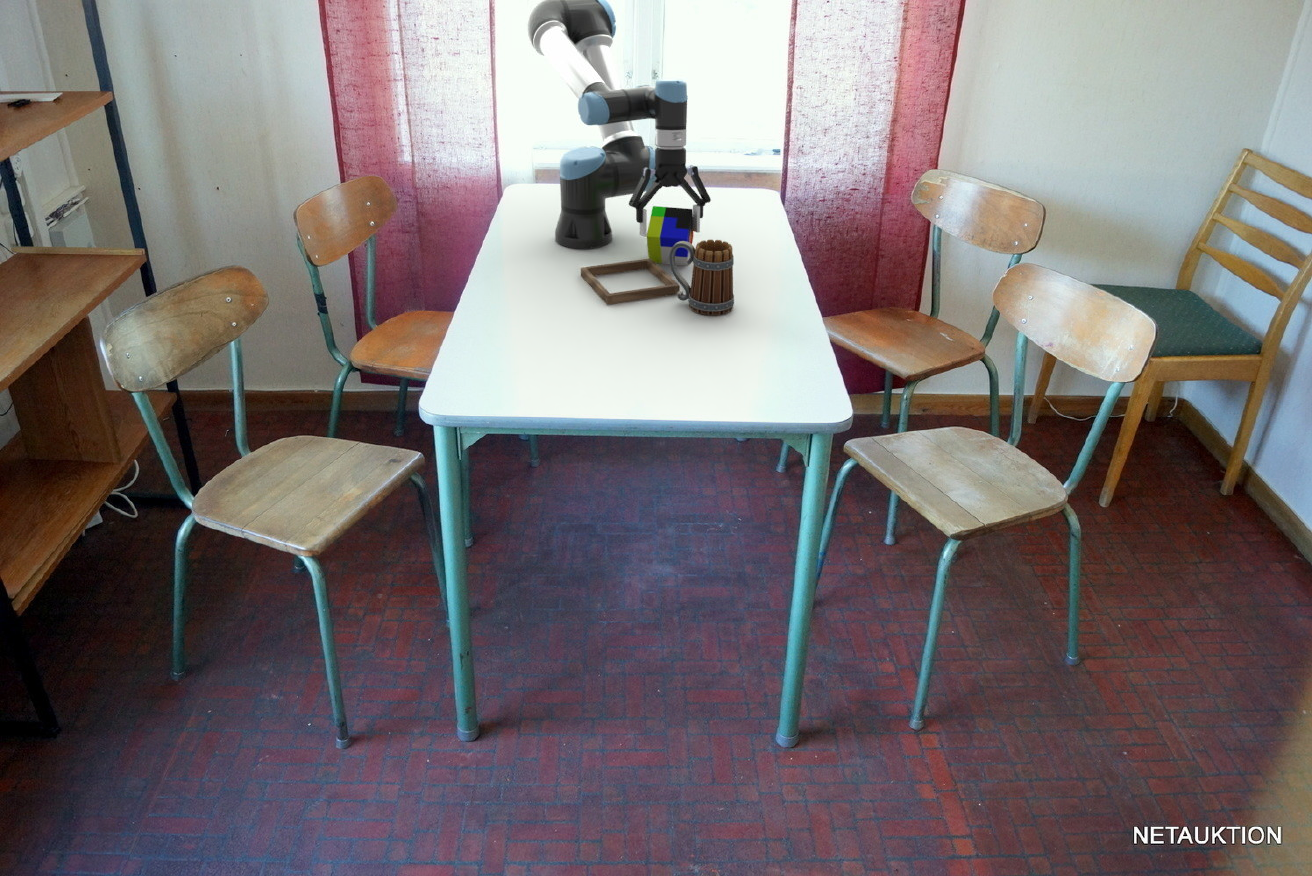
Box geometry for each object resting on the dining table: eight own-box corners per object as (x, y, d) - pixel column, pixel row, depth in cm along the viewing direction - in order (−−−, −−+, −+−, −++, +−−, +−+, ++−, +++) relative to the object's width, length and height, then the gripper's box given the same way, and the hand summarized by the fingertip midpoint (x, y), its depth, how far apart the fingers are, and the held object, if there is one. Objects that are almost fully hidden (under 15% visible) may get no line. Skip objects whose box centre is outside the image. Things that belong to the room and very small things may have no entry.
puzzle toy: (688, 266, 258) (686, 239, 250) (649, 263, 260) (646, 236, 251) (693, 236, 263) (692, 209, 255) (655, 233, 265) (652, 206, 256)
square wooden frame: (580, 276, 251) (580, 267, 250) (649, 266, 257) (649, 258, 256) (607, 305, 236) (607, 296, 235) (679, 294, 243) (679, 285, 242)
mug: (738, 302, 239) (743, 241, 232) (726, 319, 231) (730, 257, 223) (675, 292, 244) (677, 232, 236) (661, 309, 235) (662, 247, 227)
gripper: (626, 151, 239) (627, 240, 247) (724, 146, 248) (722, 232, 256) (615, 147, 245) (616, 234, 253) (711, 143, 255) (709, 227, 263)
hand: (669, 235), depth 255 cm, fingers open, 14 cm apart
